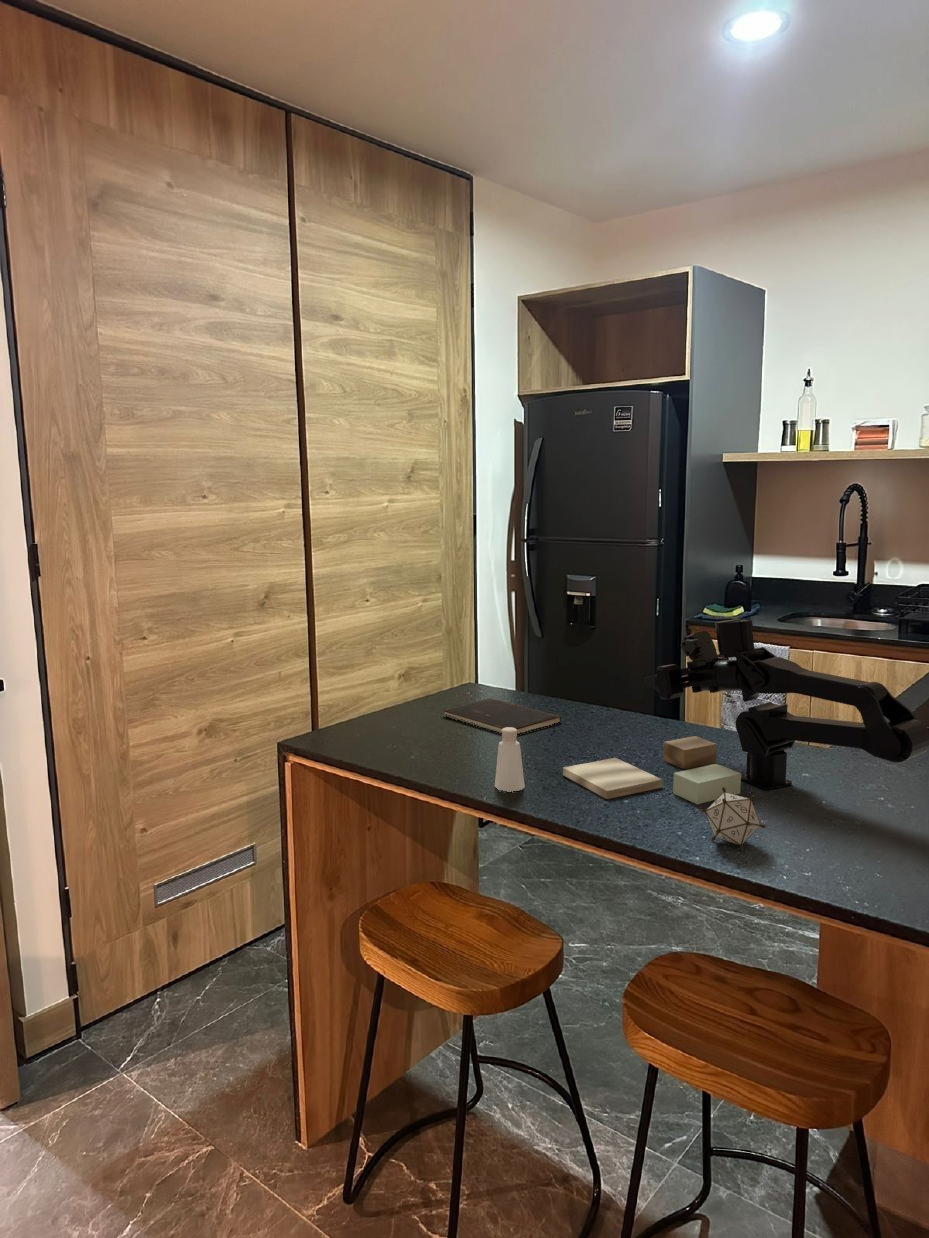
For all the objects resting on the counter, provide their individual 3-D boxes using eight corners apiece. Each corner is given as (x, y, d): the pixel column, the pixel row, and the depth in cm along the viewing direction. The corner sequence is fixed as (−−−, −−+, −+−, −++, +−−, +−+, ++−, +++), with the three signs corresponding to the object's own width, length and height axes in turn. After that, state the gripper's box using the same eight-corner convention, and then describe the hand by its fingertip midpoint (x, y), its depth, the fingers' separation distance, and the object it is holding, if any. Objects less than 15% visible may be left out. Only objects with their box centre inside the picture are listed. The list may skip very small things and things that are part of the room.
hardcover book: (510, 740, 188) (510, 729, 188) (442, 719, 205) (442, 709, 205) (561, 725, 198) (561, 715, 198) (492, 706, 215) (492, 697, 215)
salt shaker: (488, 787, 158) (487, 728, 156) (510, 780, 161) (509, 722, 159) (508, 795, 154) (508, 735, 152) (530, 788, 157) (530, 729, 155)
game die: (743, 865, 133) (787, 819, 130) (717, 862, 127) (763, 814, 124) (705, 821, 139) (747, 776, 136) (678, 817, 133) (721, 770, 130)
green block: (740, 795, 153) (741, 773, 152) (697, 805, 148) (697, 783, 148) (715, 784, 158) (716, 763, 158) (673, 794, 153) (673, 772, 153)
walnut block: (716, 763, 170) (716, 743, 169) (683, 770, 166) (684, 750, 165) (695, 755, 175) (695, 736, 174) (663, 761, 171) (663, 741, 171)
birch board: (661, 787, 156) (662, 779, 156) (606, 799, 151) (606, 790, 151) (615, 765, 169) (615, 757, 168) (562, 775, 164) (563, 767, 163)
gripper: (749, 626, 168) (686, 631, 181) (686, 639, 157) (623, 643, 170) (757, 683, 168) (693, 684, 181) (694, 700, 157) (630, 699, 170)
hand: (661, 676), depth 175 cm, fingers open, 9 cm apart
